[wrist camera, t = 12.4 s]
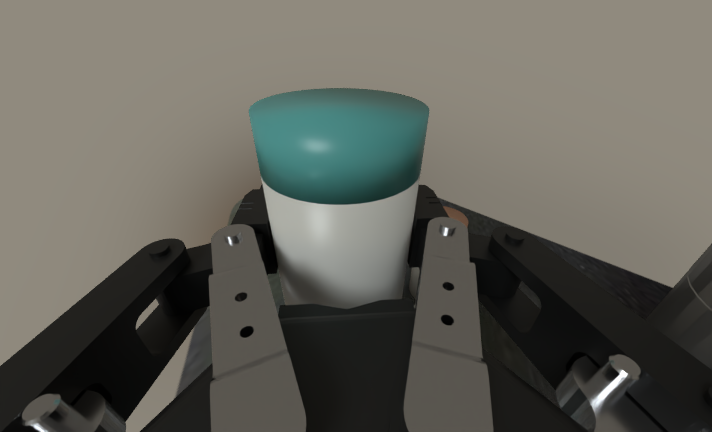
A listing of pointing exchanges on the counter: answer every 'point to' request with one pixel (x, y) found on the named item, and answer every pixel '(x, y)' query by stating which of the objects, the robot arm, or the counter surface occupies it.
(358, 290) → the teal capped canister
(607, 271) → the counter surface
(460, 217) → the white spice bottle
